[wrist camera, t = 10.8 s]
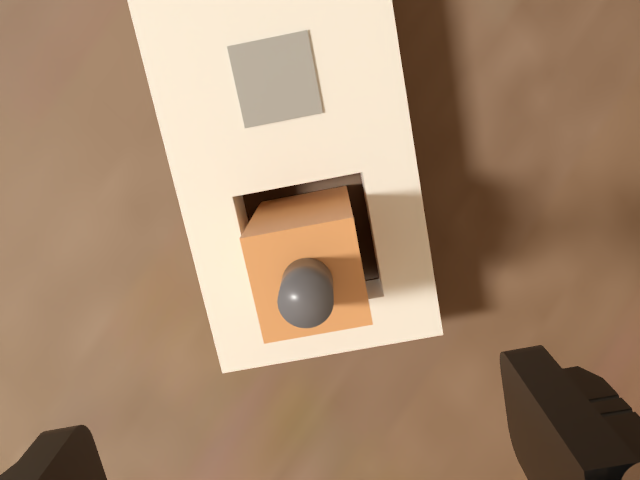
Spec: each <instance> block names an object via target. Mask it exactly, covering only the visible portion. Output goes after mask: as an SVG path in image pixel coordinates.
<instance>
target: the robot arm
mask: <svg viewBox="0 0 640 480" xmlns="http://www.w3.org/2000/svg"><path fill="white" fill-rule="evenodd" d="M500 368H501V376H502V383H503V391H504V398H505V406H506V413H507V421H508V428H509V433H510V438H511V441H512V445H513V448H514V451H515V454H516V457H517V459H518V461H519V463H520V465H521V467H522V469H523V471H524V473H525V475H526V477H527V479H528V480H640V417H639V416H638V414H637V413H636V412H632V408H631V407H630V406H629V405H628V404H627V403H626V402H625V401H624V400H623V399H622V398H619V395H618V394H617V393H616V391H615V390H614V389H613V388H612V387H611V386H610V385H609V384H608V383H607V382H606V381H605V380H604V379H603V378H602V377H599V376H597V375H595V374H593V373H591V372H589V371H587V370H585V369H583V368H581V367H578V366H576V367H570V368H565V369H562V368H561V367H560V366H559V365H558V363H557V362H556V361H555V360H554V359H553V357H552V356H551V355H550V354H549V353H548V351H547V350H546V349H545V348H544V347H543V346H542V345H538V346H533V347H527V348H521V349H516V350H510V351H504V352H501V353H500ZM0 480H107V478H106V475H105V472H104V469H103V466H102V463H101V460H100V457H99V454H98V451H97V448H96V445H95V442H94V439H93V436H92V434H91V432H90V430H89V429H88V428H87V427H86V426H84V425H78V426H72V427H66V428H61V429H55V430H49V431H44V432H42V433H41V434H40V435H39V436H38V437H37V439H36V440H35V441H34V442H33V443H32V445H31V446H30V447H29V448H28V450H27V451H26V452H25V453H24V454H23V456H22V457H21V458H20V459H19V461H18V462H17V463H15V464H14V465H13V466H12V467H10V468H9V469H8V470H6V471H5V472H4V473H3V474H1V475H0Z"/></svg>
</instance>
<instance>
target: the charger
mask: <svg viewBox="0 0 640 480" xmlns="http://www.w3.org/2000/svg"><path fill="white" fill-rule="evenodd" d="M239 239H240V243H241V247H242V252H243V256H244V260H245V264H246V269H247V273H248V277H249V282H250V286H251V290H252V294H253V299H254V303H255V307H256V312H257V316H258V320H259V324H260V329H261V333H262V337H263V342H264V344H266V343H272V342H277V341H283V340H289V339H294V338H300V337H306V336H311V335H317V334H323V333H328V332H334V331H340V330H345V329H351V328H357V327H362V326H368V325H373V322H372V316H371V311H370V305H369V300H368V294H367V289H366V283H365V278H364V272H363V267H362V262H361V256H360V251H359V245H358V240H357V234H356V229H355V223H354V218H353V213H352V209H351V204H350V200H349V195H348V191H347V186H342V187H336V188H331V189H326V190H321V191H315V192H310V193H305V194H300V195H294V196H289V197H284V198H279V199H273V200H268V201H263V202H261V203H260V204H259V206H258V208H257V209H256V211H255V213H254V215H253V216H252V218H251V220H250V221H249V223H248V225H247V227H246V228H245V230H244V232H243V233H242V235H241V237H240V238H239Z"/></svg>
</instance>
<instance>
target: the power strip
mask: <svg viewBox="0 0 640 480" xmlns="http://www.w3.org/2000/svg"><path fill="white" fill-rule="evenodd" d="M127 1H128V5H129V9H130V13H131V17H132V21H133V25H134V28H135V32H136V36H137V40H138V44H139V48H140V52H141V56H142V60H143V64H144V68H145V72H146V76H147V79H148V83H149V87H150V91H151V95H152V99H153V103H154V107H155V111H156V115H157V119H158V123H159V127H160V130H161V134H162V138H163V142H164V146H165V150H166V154H167V158H168V162H169V166H170V170H171V174H172V178H173V181H174V185H175V189H176V193H177V197H178V201H179V205H180V209H181V213H182V217H183V221H184V225H185V228H186V232H187V236H188V240H189V244H190V248H191V252H192V256H193V260H194V264H195V268H196V272H197V276H198V279H199V283H200V287H201V291H202V295H203V299H204V303H205V307H206V311H207V315H208V319H209V323H210V327H211V330H212V334H213V338H214V342H215V346H216V350H217V354H218V358H219V362H220V366H221V370H222V373H227V372H233V371H238V370H244V369H250V368H256V367H261V366H267V365H273V364H279V363H284V362H290V361H296V360H302V359H307V358H313V357H319V356H325V355H330V354H336V353H342V352H347V351H353V350H359V349H365V348H370V347H376V346H382V345H388V344H393V343H399V342H405V341H411V340H416V339H422V338H428V337H434V336H439V335H443V331H442V324H441V318H440V311H439V304H438V298H437V291H436V285H435V278H434V272H433V265H432V259H431V252H430V246H429V239H428V233H427V226H426V220H425V213H424V206H423V200H422V193H421V187H420V180H419V174H418V167H417V161H416V154H415V148H414V141H413V135H412V128H411V122H410V115H409V109H408V102H407V95H406V89H405V82H404V76H403V69H402V63H401V56H400V50H399V43H398V37H397V30H396V24H395V17H394V11H393V4H392V0H127ZM355 173H361V178H362V184H363V190H364V195H365V201H366V207H367V212H368V218H369V224H370V229H371V235H372V241H373V246H374V252H375V258H376V263H377V269H378V274H379V279H375V280H369V281H365V283H366V289H367V294H368V300H369V305H370V311H371V316H372V322H373V325H368V326H362V327H357V328H351V329H345V330H340V331H334V332H328V333H323V334H317V335H311V336H306V337H300V338H294V339H289V340H283V341H277V342H272V343H266V344H264V342H263V337H262V333H261V329H260V324H259V320H258V316H257V312H256V307H255V303H254V299H253V294H252V290H251V286H250V282H249V277H248V273H247V269H246V264H245V260H244V256H243V252H242V247H241V243H240V239H239V238H240V237H241V235H242V233H243V232H244V230H245V228H246V227H247V225H248V223H249V222H248V217H247V213H246V209H245V204H244V200H243V195H245V194H250V193H255V192H261V191H266V190H271V189H276V188H282V187H287V186H292V185H297V184H303V183H308V182H313V181H318V180H324V179H329V178H334V177H339V176H344V175H350V174H355Z"/></svg>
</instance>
